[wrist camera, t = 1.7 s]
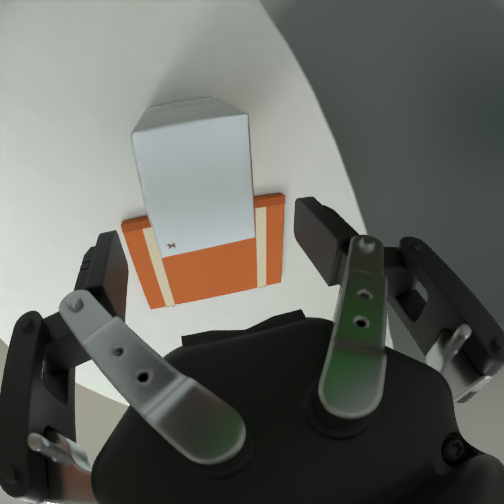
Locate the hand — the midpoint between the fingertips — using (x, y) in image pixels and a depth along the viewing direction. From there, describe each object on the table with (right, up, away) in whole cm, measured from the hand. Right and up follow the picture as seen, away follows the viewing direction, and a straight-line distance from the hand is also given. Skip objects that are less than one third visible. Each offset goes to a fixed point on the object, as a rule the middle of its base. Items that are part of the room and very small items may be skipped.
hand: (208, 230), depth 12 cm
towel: (-3, -1, +22) cm, 22 cm away
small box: (-5, +10, +13) cm, 17 cm away
